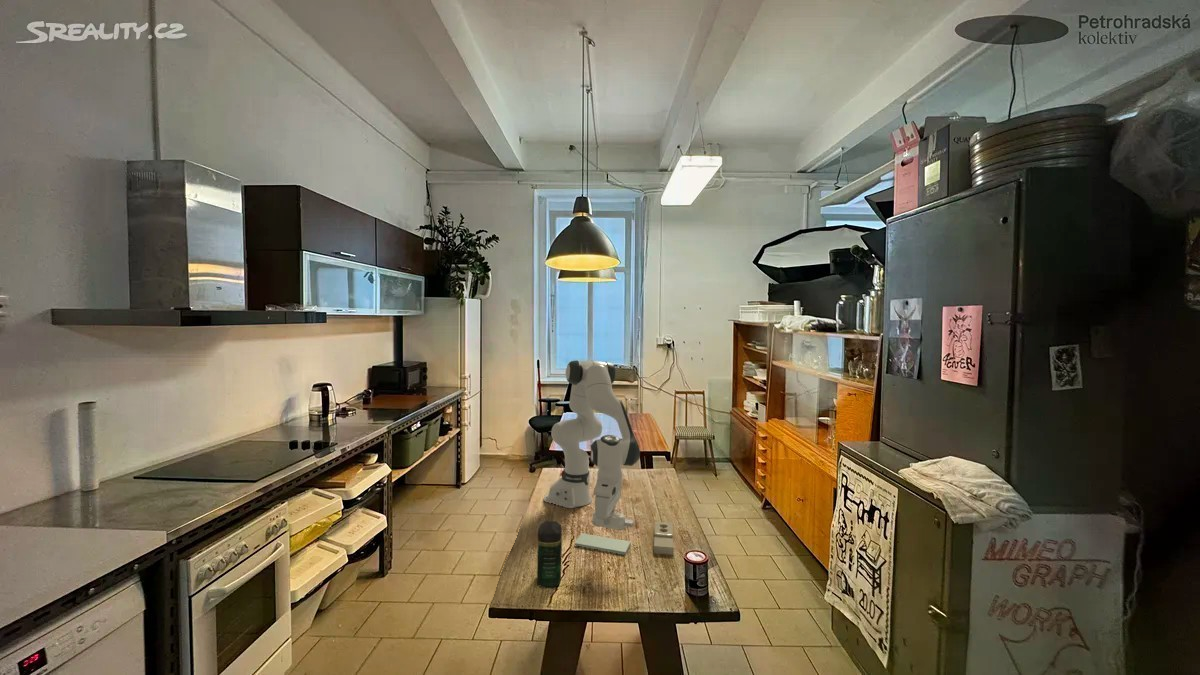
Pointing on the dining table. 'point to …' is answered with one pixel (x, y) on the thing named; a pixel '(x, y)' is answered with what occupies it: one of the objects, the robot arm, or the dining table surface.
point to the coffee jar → (549, 554)
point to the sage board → (603, 543)
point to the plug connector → (613, 521)
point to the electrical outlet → (663, 538)
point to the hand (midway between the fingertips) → (608, 520)
